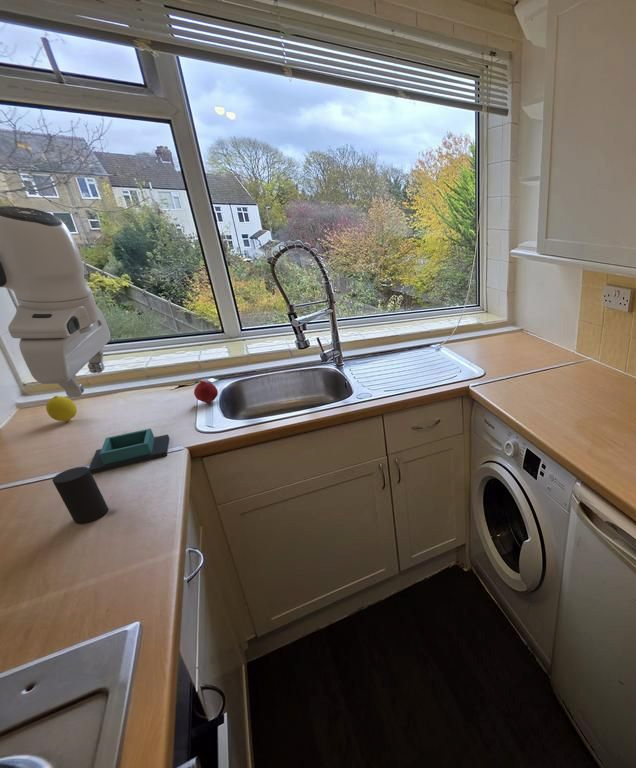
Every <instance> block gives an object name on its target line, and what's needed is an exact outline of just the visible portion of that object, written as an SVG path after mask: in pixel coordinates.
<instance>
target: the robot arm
mask: <svg viewBox="0 0 636 768" xmlns="http://www.w3.org/2000/svg"><path fill="white" fill-rule="evenodd" d="M75 240H76V239H75V238H74V236H73V234H72V232H71V231H70V229H69V228H68V227H67V225H66V224H65V223H64V221H63V220H62V219H61V218H60V217H58V216H57V215H54V214H52V213H50V212H47V211H44V210H40V209H37V208H32V207H23V206H14V205H1V206H0V288H5V289H9V290H11V291H13V293H14V297H15V299H16V301H17V304H18V305H17V306H16V309H15V314H14V316H13V318H12V319H11V320H10V322H9V324H8V326H7V331H8V332H9V334H10V336H11V338H13V339H19V342H18V346H19V347H18V348H19V351H20V353H21V356H22V358H23V360H24V363H25V366H27V369H28V371H29V373H30V374H31V376H32V378H33V379H34V380H35V381H36V382H38V383H40V384H42V385H53V384H55V385H56V384H57V385H59V386H60V387H61V388H62V389H64V391H65V393H66V396H67V397H68V398H74V397H75V398H76V397H80V396H82V395H83V393H84V391H85V389H84V386H83V384H82V383H79V382H78V381H77V380H76V379H77V374H78V373H79V372H80V371H81V370H82V369H83V368H84V367H85V366H86V365H87V369H88V371H89V373H91V374H101V373H103V371H104V370H105V368H106V367H105V364H104V350H103V348H104V347H105V346H106V345H107V344H108V343H109V342H110V341H111V335H112V334H111V331H110V328H109V326H108V323H107V321H106V318H105V315H104V313H103V312H102V310H101V309H100V308H99V307H98V305H97V303H96V300H95V296H94V293H93V290H92V288H91V287H90V286H89V284H88V283H87V281H86V278H85V265H84V262H83V259H82V256H81V253H80V249H79V247H78V245H77V243H76V241H75Z"/></svg>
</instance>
